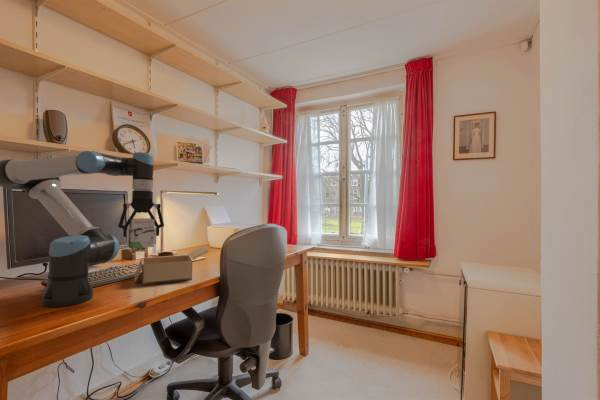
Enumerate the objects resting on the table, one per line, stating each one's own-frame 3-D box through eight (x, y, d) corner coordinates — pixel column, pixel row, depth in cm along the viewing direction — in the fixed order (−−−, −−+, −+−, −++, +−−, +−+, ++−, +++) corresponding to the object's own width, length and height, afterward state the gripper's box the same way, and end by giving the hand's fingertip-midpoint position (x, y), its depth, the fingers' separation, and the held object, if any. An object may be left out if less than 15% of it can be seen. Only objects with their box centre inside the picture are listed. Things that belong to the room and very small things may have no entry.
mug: (180, 271, 155) (181, 253, 155) (167, 274, 149) (167, 255, 149) (167, 268, 162) (168, 251, 162) (154, 270, 155) (154, 253, 155)
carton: (134, 287, 125) (134, 266, 125) (134, 275, 144) (135, 257, 144) (193, 281, 137) (193, 261, 137) (186, 271, 156) (186, 253, 156)
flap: (192, 258, 141) (208, 250, 144) (188, 253, 153) (202, 246, 156) (193, 259, 141) (208, 251, 144) (188, 254, 153) (203, 247, 156)
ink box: (131, 248, 116) (131, 219, 116) (128, 247, 119) (128, 218, 119) (154, 246, 121) (155, 218, 121) (151, 245, 125) (151, 217, 125)
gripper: (110, 189, 112) (109, 247, 112) (172, 191, 122) (171, 244, 122) (112, 189, 119) (110, 244, 118) (170, 191, 129) (169, 241, 129)
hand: (141, 244), depth 120 cm, fingers closed on ink box, 9 cm apart
